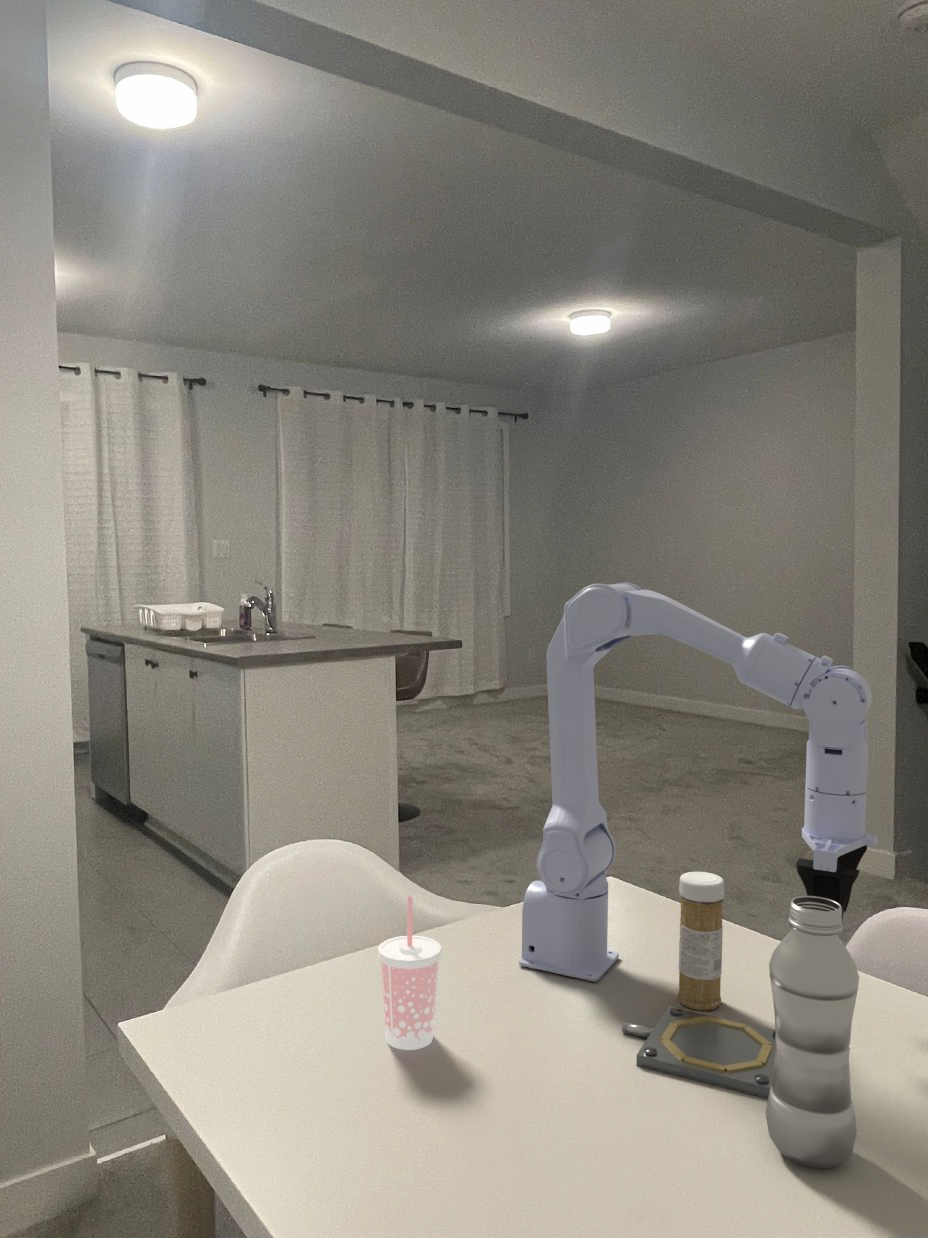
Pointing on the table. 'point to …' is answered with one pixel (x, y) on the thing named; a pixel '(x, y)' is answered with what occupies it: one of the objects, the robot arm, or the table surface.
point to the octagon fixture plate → (709, 1050)
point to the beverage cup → (409, 987)
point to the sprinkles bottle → (700, 940)
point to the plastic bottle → (813, 1037)
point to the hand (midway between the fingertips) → (831, 921)
